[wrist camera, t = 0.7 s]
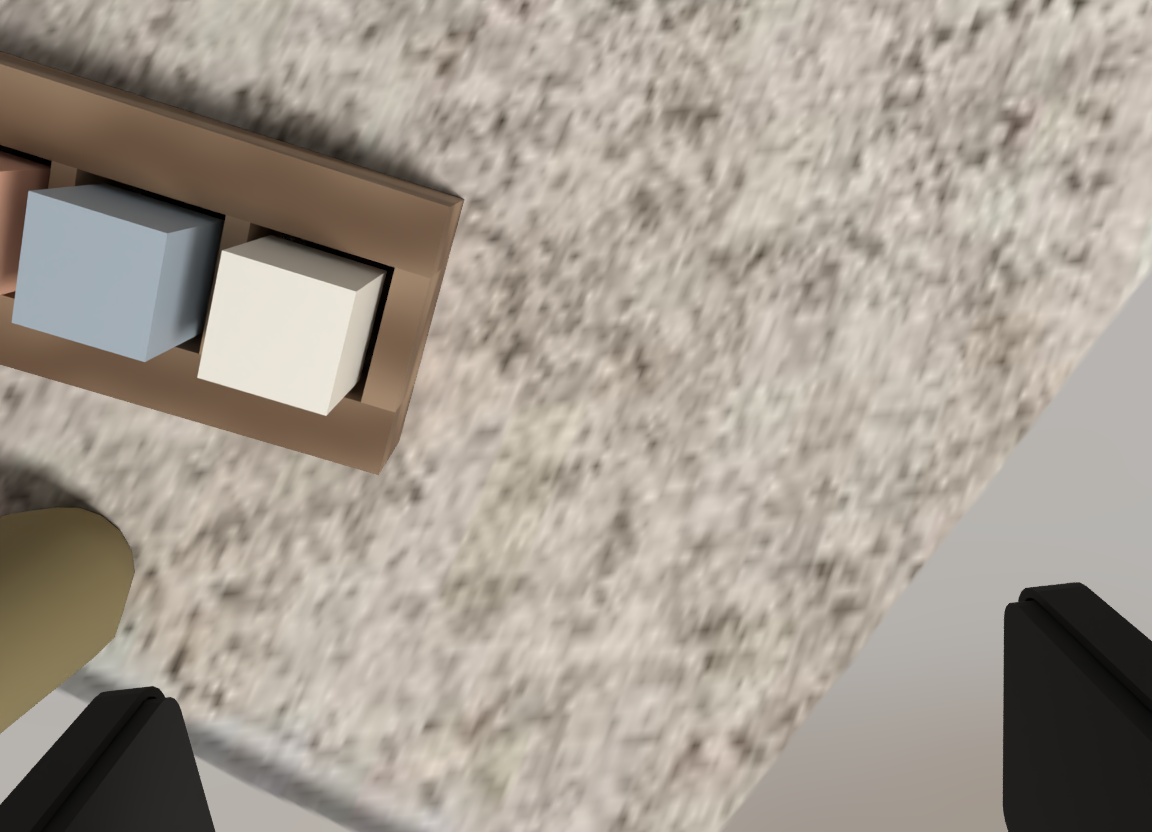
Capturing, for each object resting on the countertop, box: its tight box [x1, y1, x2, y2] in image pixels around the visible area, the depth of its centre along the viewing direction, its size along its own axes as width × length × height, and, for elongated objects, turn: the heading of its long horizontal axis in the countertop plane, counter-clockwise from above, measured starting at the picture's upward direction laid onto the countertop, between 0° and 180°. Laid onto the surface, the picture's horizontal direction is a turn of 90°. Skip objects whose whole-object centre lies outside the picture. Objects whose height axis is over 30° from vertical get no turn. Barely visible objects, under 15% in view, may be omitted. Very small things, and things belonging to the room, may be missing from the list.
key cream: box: [197, 235, 387, 416], centre depth 36 cm, size 5×5×5 cm
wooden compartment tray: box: [0, 51, 464, 475], centre depth 39 cm, size 12×23×4 cm, turn 73°
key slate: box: [12, 183, 224, 362], centre depth 36 cm, size 5×5×5 cm
